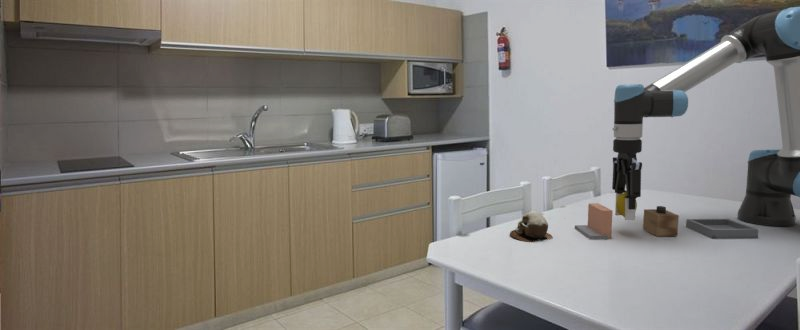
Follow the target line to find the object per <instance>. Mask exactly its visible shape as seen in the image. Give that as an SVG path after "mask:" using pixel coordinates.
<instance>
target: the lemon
mask: <svg viewBox="0 0 800 330" xmlns="http://www.w3.org/2000/svg"><path fill="white" fill-rule="evenodd" d="M624 196H627V192H625V193H622V194H621V195H620V196H619V197H618V198H617V202H616V201H615V206H616V208H617V211H618V213H619V214H620V215H619V216H622V217H623V218H624V219H625V197H624ZM637 204H638V202H637V201H636V209H637V208H638V205H637Z"/></svg>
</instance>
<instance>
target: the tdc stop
mask: <svg viewBox="0 0 800 330" xmlns="http://www.w3.org/2000/svg"><path fill="white" fill-rule="evenodd" d="M587 207H588V209H587V210H588V211H587V224H584V225H583V224H582V225H579V224H578V225H577V224H575V225H574V229H575V230H577V232H579V233H580V234H581V235H583V236H584V237H586V238H588V240H608V239H612V229H613V228H612V227H613V210H612V209H610V208H609V207H606V206H604V205H603V204H600V203H598V202H597V203H595V202H594V203H588V206H587Z"/></svg>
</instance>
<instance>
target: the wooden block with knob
mask: <svg viewBox="0 0 800 330" xmlns="http://www.w3.org/2000/svg"><path fill="white" fill-rule="evenodd" d="M679 217H680V216H679V215H678V214H676V213H674V212H672V211H669V210H667V207H666V206H663V205H662V206H661V205H658V206H656V209H653V208H651V209H645V208H644V209H643V223H642V229H643V230H644V231H646V232H648V233H650V234H652V235H654V236H656V237H677V236H678V231H679Z"/></svg>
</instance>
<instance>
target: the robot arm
mask: <svg viewBox="0 0 800 330" xmlns="http://www.w3.org/2000/svg"><path fill="white" fill-rule="evenodd" d="M761 55H765V59H766V60H765V61H766V63H768V64H769V65H771V66H773V69H774V71H773V72H774V80H775V88H776V89H775V90H776V97H777V98H776V99H777V107H778V108H777V109H778V115H779V116H778V117H779V125H780V133H781V143H782V144H781V145H782V147H781V148H780V149H755V150H751V152H749V154H748V161H747V164H748V165H747V177H746V185H745V186H746V187H745V188H746V189H745V196H744V198H743V200H742V202H741V205H740V207H739V208H738V211H737V215H736V216H737V219H738V220H740V221H742V222H745V223H746V222H747V223H750V224H754V225H755V224H756V225H762V226H769V227H770V226H773V227H790V226H795V225H796V222H797V221H796V219H797V217H796V214H795V210H794V207H793V204H792V200H791V197H792V196H795V197H799V198H800V6H794V7H788V8H785V9H781V10H777V11H772V12H768V13H763V14H759V15H758V16H756V17H753V18H752V19H750V20H749V21H746V22H745V23H743V24H741V25H740V26H738V27H737V28H735V29H733V30H732V31H730V32H729V33H727V34H725V35H724V36H722V38H721V39H720V42H719V43H717V44H715V45H713V46H712V47H710V48H709V49H707V50H706V51H704V52H702V53H700V54H699V55H697V56H695V57H694V58H692V59H690V60H688V61H686V62H685V63H683V64H682V65H681V66H679V67H677V68H676V69H674V70H672V71H670V72H668V73H667V74H665V75H664V76H662V77H661V78H659V79H657V80H656V81H653V82H651V84H649V85H647V86H645V85H643V84H638V83H637V84H635V83H634V84H632V83H631V84H618V85H617V86H616V87H615V91H614V99H613V102H614V104H613V105H614V108H613V109H614V112H613V114H614V116H613V117H614V118H613V127H612V131H613V138H615V139H613V141H612V142H613V143H612V144H613V145H612V151H613V153H617V156H615V157H612V165H613V166H612V181H611V182H612V183H611V184H612V187H611V188H612V190H614V193H615V203H616V202H617V198H618V197H619V196H620V195H621V194H622V193H625V192H627V196H624V197H625V218H624V220H625V221H636V211H637V208H636V202H637V198H641V196H642V195H641V194H642V169H643V163H642V162H640V161H639V162H638V159H637V154H639V153H641V152H642V150H643V149H642V147H643V145H642V143H643V140H642V139H641V138H642V137H643V129H644V128H643V125H644V123H643V122H644V118H674V117H676V118H677V117H682V116H683V115H685V114H686V112H688V108H689V97H688V95H687V93H686V92H687V91H690V90H692V89H693V88H694V87H696V86H698V85H700V84H702V82H705V81H706V80H709V78H711V77H714V76H715V75H716V74H718V73H720V72H721V71H724V70H725V69H727V68H728V67H730V66H731V65H733V64H735V63H736V64H742V63H743V62H745V61H747V60H748V59H751V58H753V57H757V56H761ZM644 86H645V87H644ZM614 206H615V208H614V209H615V212H614V213H615V214H614V215H615V216H621V215H620V214H619V213H618V211H617V208H616V205H614Z"/></svg>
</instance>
